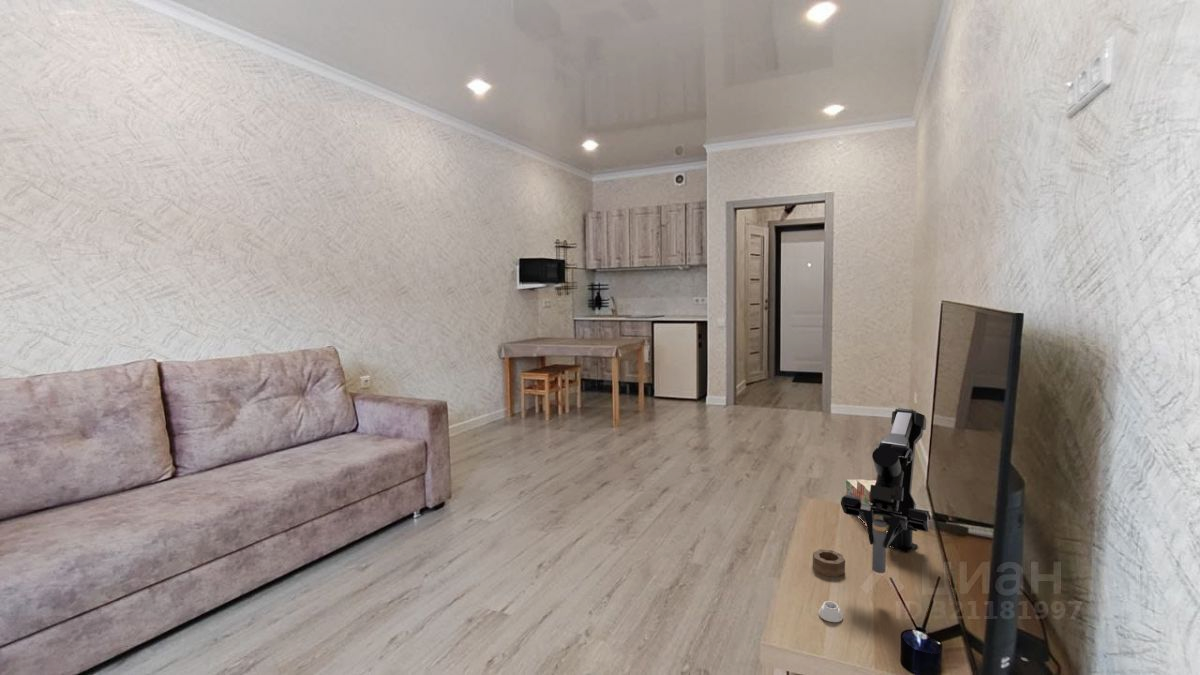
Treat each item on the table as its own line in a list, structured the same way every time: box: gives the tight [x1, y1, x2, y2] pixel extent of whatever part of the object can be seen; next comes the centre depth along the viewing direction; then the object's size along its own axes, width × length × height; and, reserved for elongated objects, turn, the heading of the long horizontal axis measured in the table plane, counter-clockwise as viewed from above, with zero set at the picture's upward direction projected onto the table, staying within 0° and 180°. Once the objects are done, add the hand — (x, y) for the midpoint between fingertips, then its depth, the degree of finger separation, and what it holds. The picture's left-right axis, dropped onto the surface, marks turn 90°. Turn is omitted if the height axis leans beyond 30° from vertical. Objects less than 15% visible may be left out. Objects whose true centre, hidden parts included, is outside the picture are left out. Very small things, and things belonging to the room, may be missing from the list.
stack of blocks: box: [845, 478, 890, 531], centre depth 173 cm, size 21×6×12 cm, turn 176°
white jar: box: [818, 600, 844, 623], centre depth 122 cm, size 5×3×5 cm
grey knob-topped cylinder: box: [871, 519, 887, 574], centre depth 128 cm, size 3×3×12 cm
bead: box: [812, 548, 846, 578], centre depth 143 cm, size 7×7×4 cm
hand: (878, 545), depth 127 cm, fingers closed on grey knob-topped cylinder, 3 cm apart
